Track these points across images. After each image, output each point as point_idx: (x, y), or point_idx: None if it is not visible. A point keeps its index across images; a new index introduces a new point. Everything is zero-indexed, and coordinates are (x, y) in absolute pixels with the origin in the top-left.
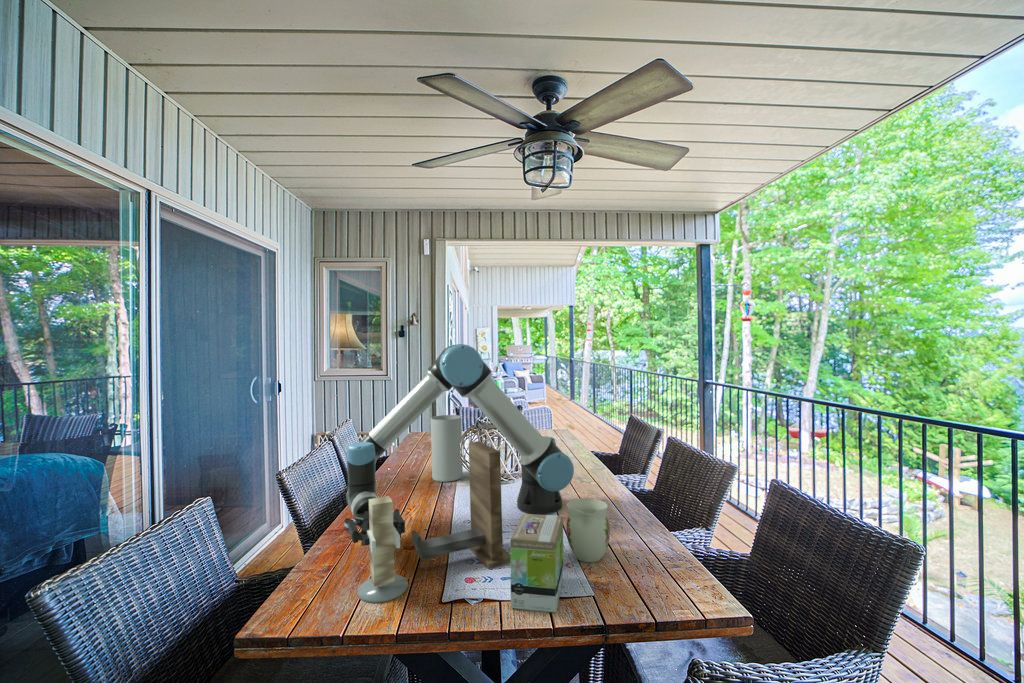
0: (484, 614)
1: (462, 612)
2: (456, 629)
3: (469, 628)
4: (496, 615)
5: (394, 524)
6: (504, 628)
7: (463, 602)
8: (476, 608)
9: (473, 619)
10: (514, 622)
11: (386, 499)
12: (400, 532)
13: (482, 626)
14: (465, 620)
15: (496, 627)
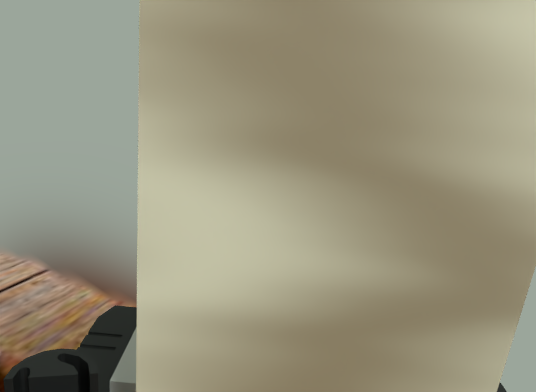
0: (23, 310)
1: (58, 340)
2: (128, 304)
3: (101, 295)
4: (6, 296)
5: (88, 382)
6: (43, 267)
7: (5, 374)
8: (10, 334)
9: (64, 309)
10: (6, 268)
11: None
12: (117, 310)
13: (72, 287)
14: (83, 315)
15: (52, 274)
